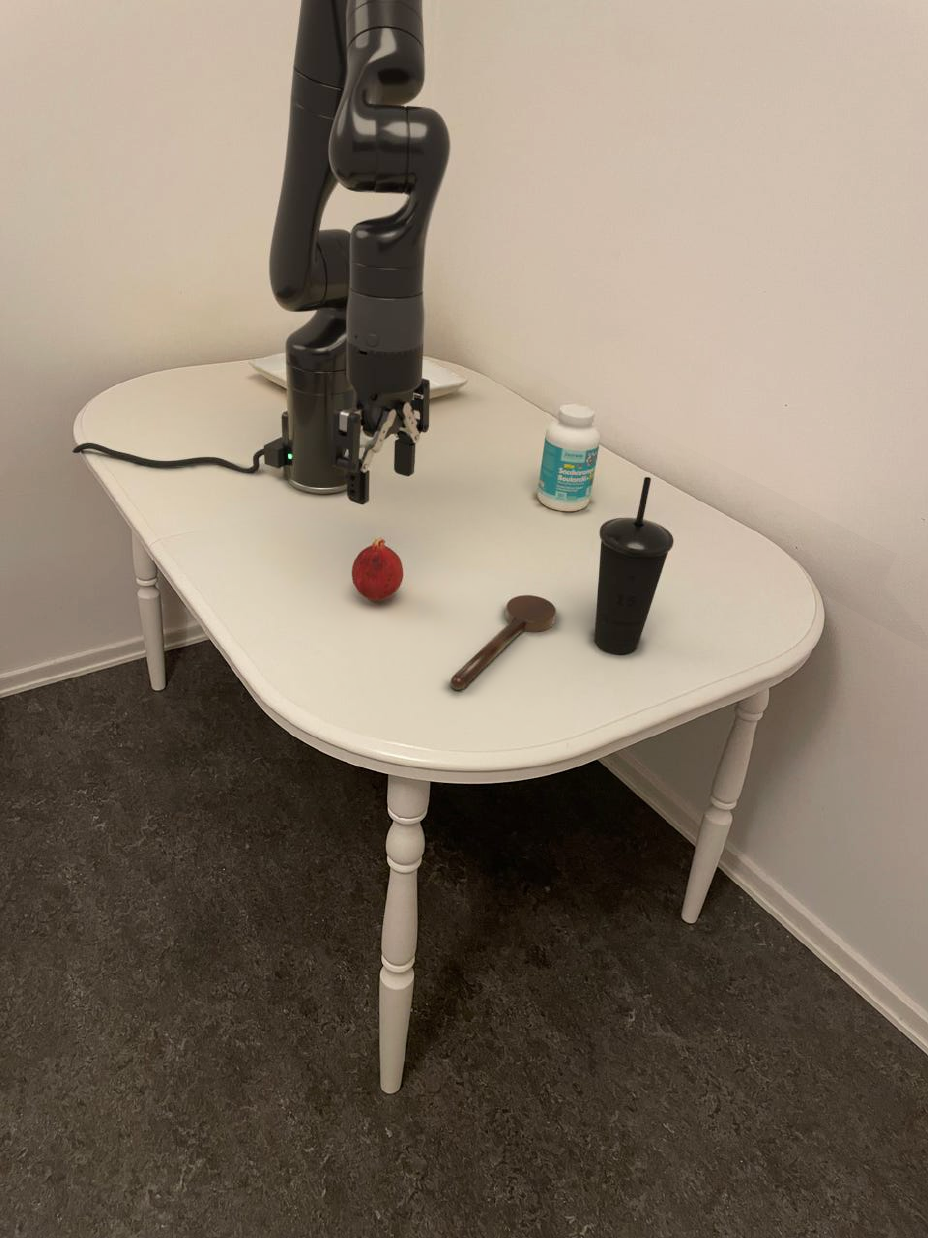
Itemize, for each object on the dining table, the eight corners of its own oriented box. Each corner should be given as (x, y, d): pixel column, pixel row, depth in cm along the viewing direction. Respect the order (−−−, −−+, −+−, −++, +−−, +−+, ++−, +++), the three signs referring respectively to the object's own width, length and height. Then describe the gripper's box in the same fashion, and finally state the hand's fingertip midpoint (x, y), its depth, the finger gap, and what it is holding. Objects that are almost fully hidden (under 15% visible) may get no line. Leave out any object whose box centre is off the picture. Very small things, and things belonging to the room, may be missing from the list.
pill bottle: (554, 517, 131) (567, 423, 124) (526, 494, 136) (538, 403, 129) (599, 508, 134) (615, 417, 127) (571, 486, 139) (584, 397, 132)
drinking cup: (575, 622, 110) (602, 461, 98) (640, 623, 110) (674, 463, 99) (588, 662, 103) (618, 494, 92) (657, 663, 104) (695, 496, 93)
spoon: (430, 682, 98) (431, 669, 97) (519, 599, 113) (521, 588, 112) (477, 702, 96) (479, 689, 95) (562, 615, 111) (564, 604, 110)
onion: (394, 618, 108) (397, 556, 103) (344, 609, 108) (345, 547, 104) (407, 591, 112) (410, 531, 108) (359, 583, 113) (360, 523, 109)
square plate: (246, 380, 165) (245, 358, 163) (371, 353, 181) (372, 333, 179) (341, 433, 149) (341, 409, 147) (469, 398, 166) (471, 377, 163)
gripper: (394, 312, 100) (389, 456, 109) (308, 344, 90) (312, 501, 99) (455, 327, 97) (446, 474, 106) (375, 362, 87) (372, 522, 96)
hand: (381, 487), depth 102 cm, fingers open, 8 cm apart
